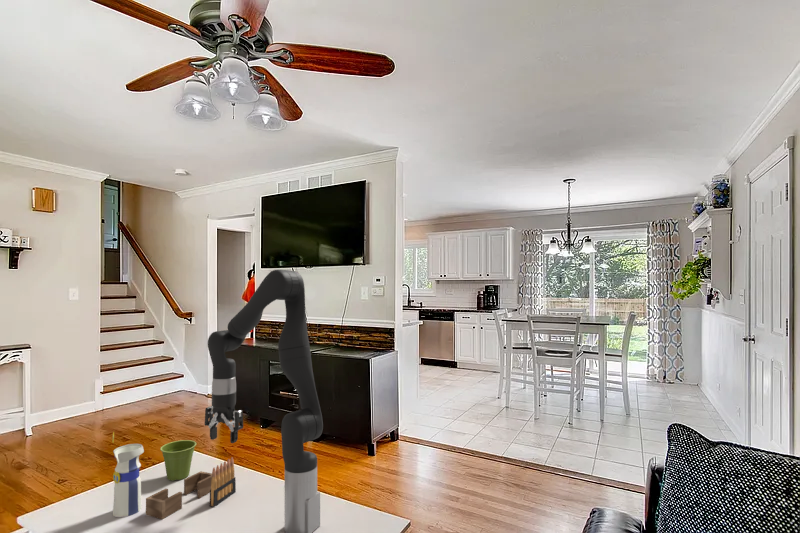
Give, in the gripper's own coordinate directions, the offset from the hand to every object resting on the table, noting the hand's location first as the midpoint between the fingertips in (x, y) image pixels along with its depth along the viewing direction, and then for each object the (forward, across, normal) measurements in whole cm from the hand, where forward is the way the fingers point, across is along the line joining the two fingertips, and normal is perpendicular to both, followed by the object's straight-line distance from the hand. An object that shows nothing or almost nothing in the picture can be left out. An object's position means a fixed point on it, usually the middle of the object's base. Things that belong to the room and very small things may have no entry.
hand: (223, 440), depth 146 cm
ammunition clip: (+19, 0, 0) cm, 19 cm away
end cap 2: (+19, +11, -1) cm, 22 cm away
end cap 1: (+19, +11, +13) cm, 25 cm away
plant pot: (+19, +28, -7) cm, 35 cm away
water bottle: (+19, +22, +17) cm, 34 cm away
